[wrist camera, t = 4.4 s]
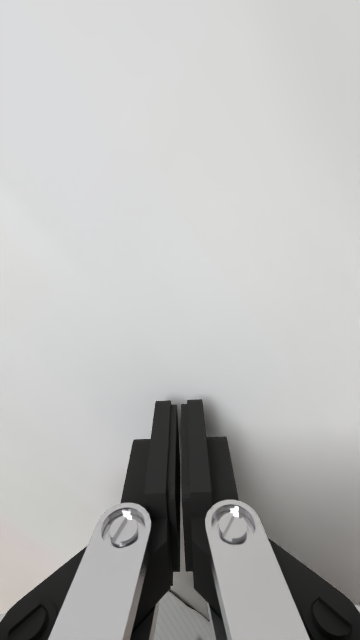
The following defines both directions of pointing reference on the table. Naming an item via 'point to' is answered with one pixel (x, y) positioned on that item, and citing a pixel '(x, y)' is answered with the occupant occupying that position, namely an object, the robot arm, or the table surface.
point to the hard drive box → (180, 621)
